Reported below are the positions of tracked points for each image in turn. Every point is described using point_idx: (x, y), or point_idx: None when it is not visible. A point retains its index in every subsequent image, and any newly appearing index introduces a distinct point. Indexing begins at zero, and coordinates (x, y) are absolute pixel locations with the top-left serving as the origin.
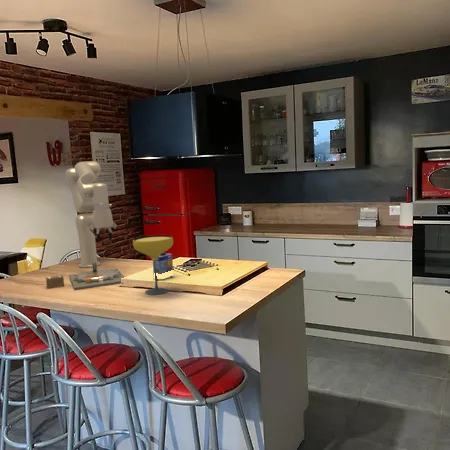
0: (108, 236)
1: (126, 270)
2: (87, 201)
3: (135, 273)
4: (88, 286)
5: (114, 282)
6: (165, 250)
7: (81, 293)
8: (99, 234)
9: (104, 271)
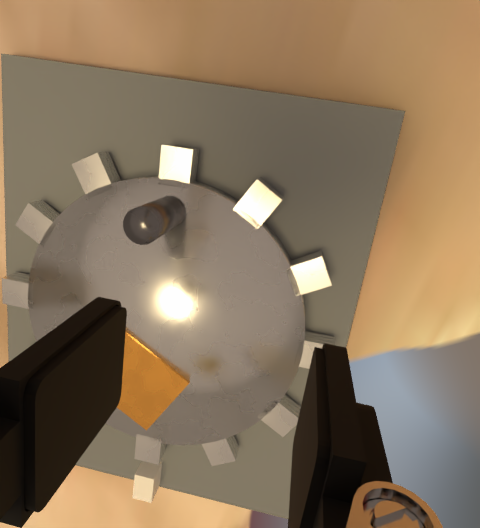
0: (312, 397)
1: (467, 171)
2: None
3: (461, 335)
4: (82, 463)
5: (221, 500)
6: None
7: (43, 512)
8: (27, 516)
9: (231, 280)
